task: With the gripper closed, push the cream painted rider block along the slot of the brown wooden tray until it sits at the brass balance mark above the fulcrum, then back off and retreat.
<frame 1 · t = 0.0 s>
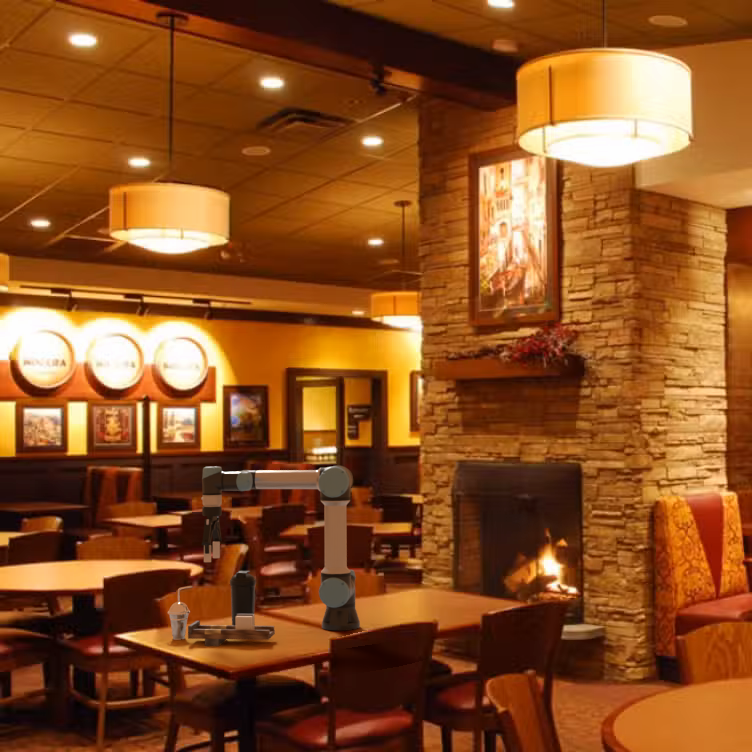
hand: (211, 560, 439), 28 cm above the table, fingers open, 13 cm apart
rider: (245, 623, 415), point 7 cm above the table, slide at 0.0 cm
brown wooden tray: (231, 642, 415), on the table
water bottle: (242, 630, 442), on the table
cup with straw: (179, 639, 424), on the table
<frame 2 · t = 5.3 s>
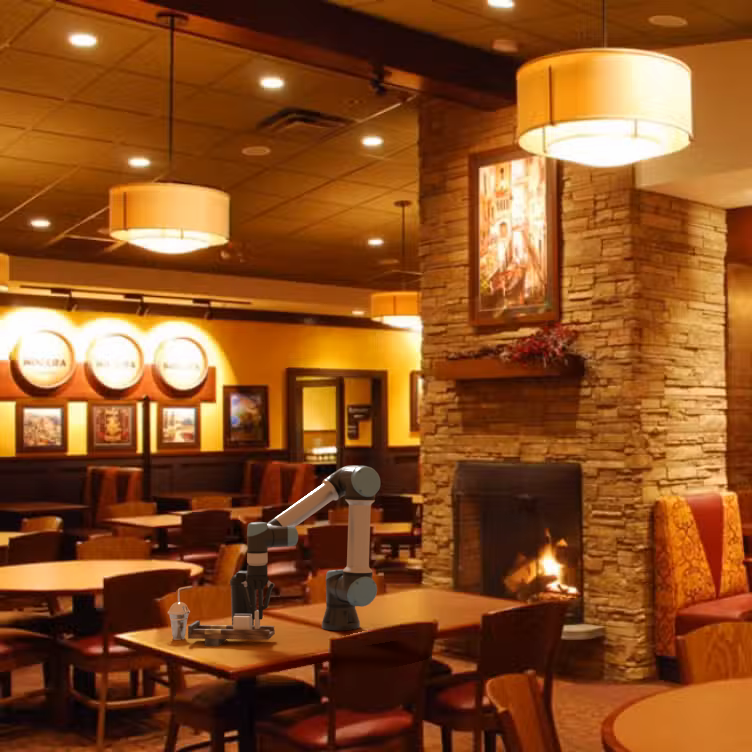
hand: (257, 628, 414), 6 cm above the table, fingers closed
rider: (242, 622, 415), point 7 cm above the table, slide at 0.9 cm, touching gripper
everything else where it was.
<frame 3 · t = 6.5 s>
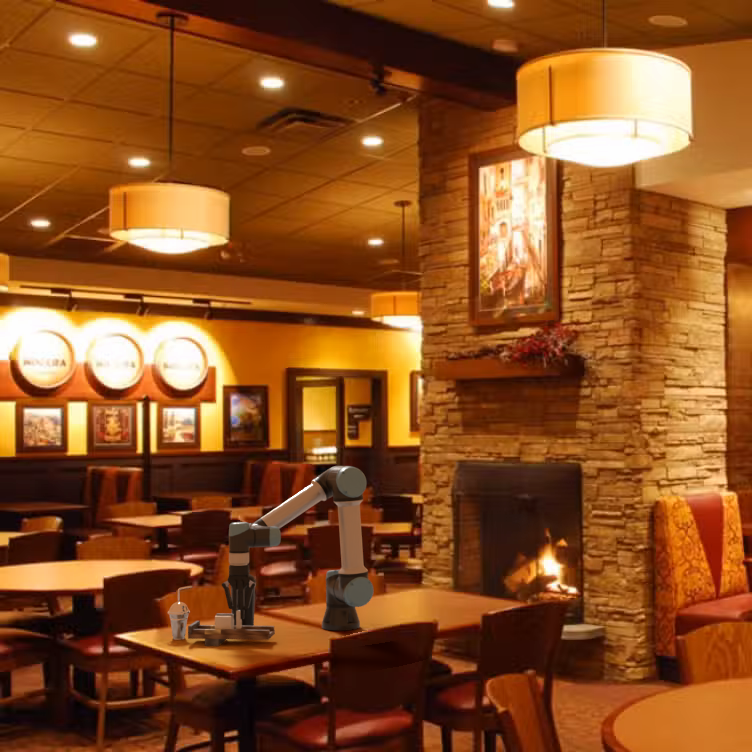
hand: (238, 628, 415), 6 cm above the table, fingers closed
rider: (224, 622, 416), point 7 cm above the table, slide at 7.8 cm, touching gripper
everything else where it was.
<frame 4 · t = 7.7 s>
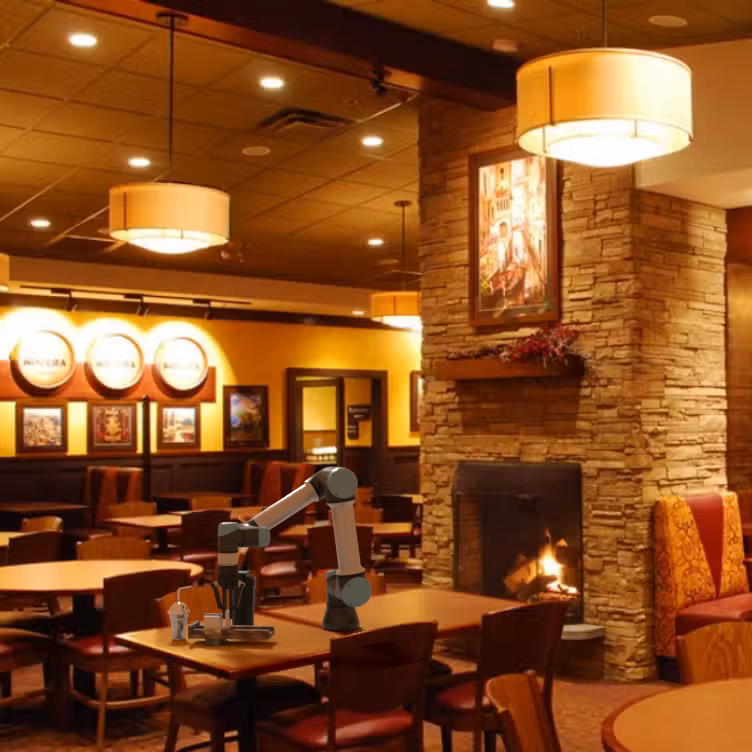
hand: (227, 627, 415), 6 cm above the table, fingers closed
rider: (213, 622, 416), point 7 cm above the table, slide at 12.0 cm, touching gripper
everything else where it was.
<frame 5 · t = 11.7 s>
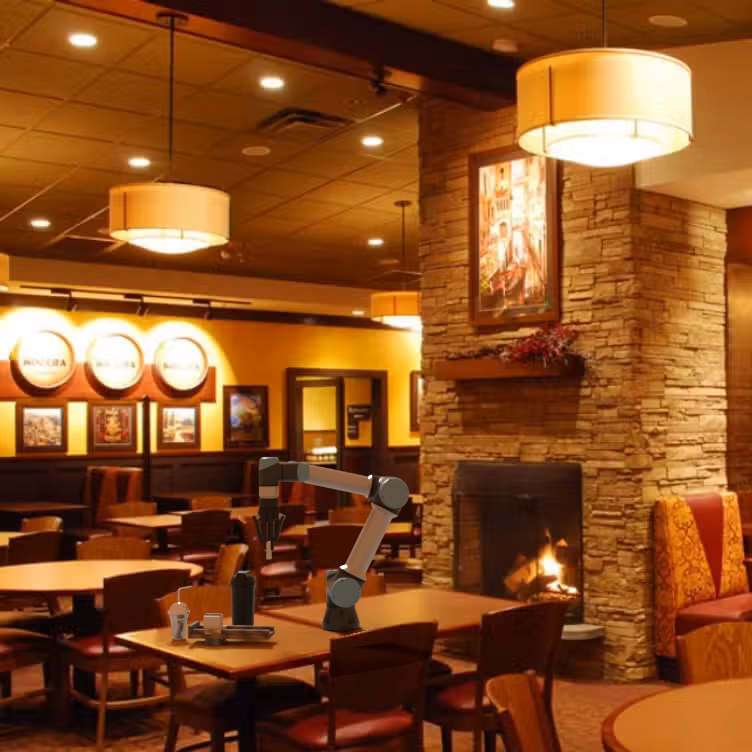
hand: (269, 558, 430), 29 cm above the table, fingers closed
rider: (213, 622, 416), point 7 cm above the table, slide at 12.0 cm
everything else where it was.
at the end: rider slide at 12.0 cm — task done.
